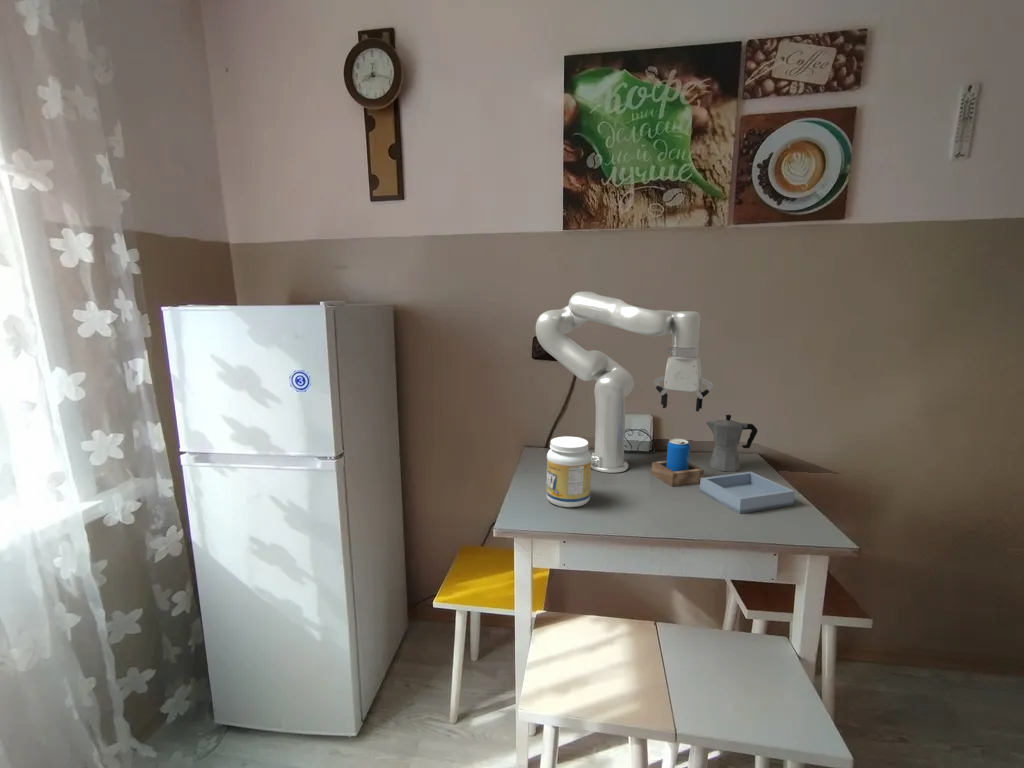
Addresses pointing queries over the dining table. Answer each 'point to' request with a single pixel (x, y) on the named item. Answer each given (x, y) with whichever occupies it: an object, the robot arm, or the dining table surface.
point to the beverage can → (678, 455)
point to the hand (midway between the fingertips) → (681, 409)
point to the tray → (747, 492)
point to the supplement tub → (568, 472)
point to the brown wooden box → (677, 474)
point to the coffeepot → (728, 443)
